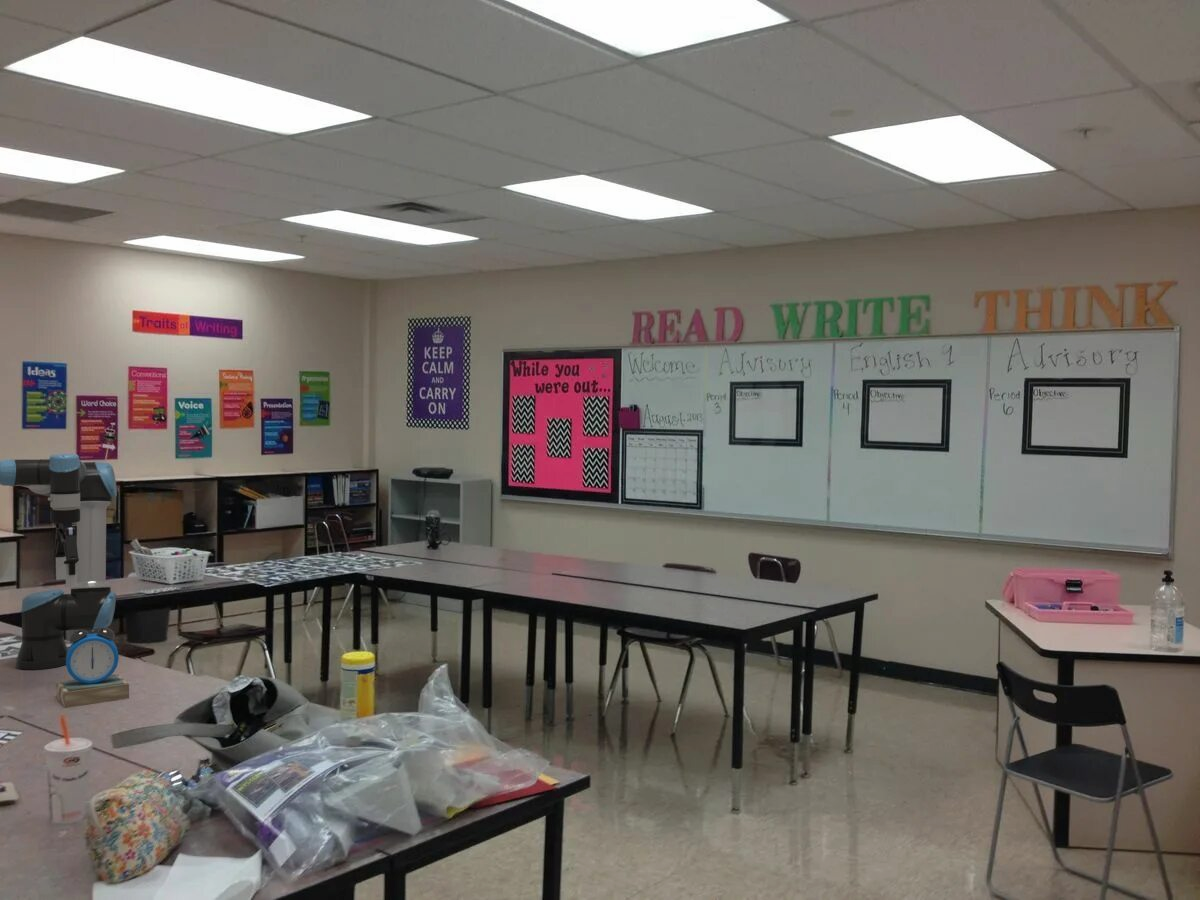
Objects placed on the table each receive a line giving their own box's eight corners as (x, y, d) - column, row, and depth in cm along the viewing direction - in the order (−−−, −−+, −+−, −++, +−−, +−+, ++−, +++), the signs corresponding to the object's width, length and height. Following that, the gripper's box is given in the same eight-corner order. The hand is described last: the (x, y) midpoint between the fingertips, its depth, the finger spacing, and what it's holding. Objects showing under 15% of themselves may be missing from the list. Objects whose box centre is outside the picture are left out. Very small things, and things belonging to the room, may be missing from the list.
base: (56, 696, 287) (56, 681, 287) (118, 687, 297) (118, 673, 296) (65, 707, 276) (65, 691, 276) (129, 698, 285) (128, 682, 285)
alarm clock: (66, 687, 280) (65, 632, 280) (66, 682, 286) (65, 628, 286) (118, 681, 286) (118, 628, 286) (118, 677, 292) (117, 624, 292)
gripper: (42, 505, 296) (43, 577, 297) (59, 513, 277) (60, 590, 278) (70, 503, 301) (71, 575, 302) (89, 511, 282) (90, 588, 283)
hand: (66, 583), depth 290 cm, fingers open, 13 cm apart
